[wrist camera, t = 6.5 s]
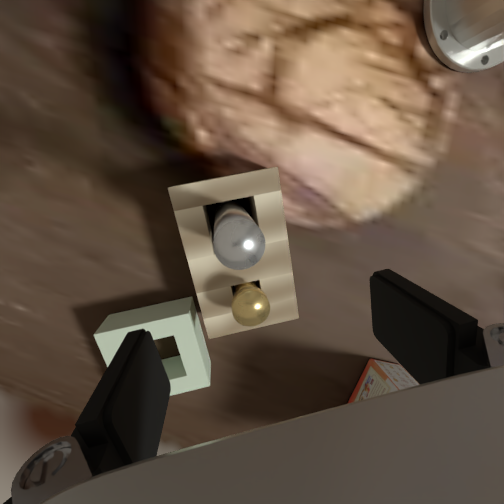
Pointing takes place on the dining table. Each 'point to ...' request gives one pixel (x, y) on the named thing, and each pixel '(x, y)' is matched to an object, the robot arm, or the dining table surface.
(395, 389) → the cracker box
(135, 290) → the dining table surface
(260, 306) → the brass knobbed peg
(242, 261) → the steel rod
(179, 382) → the block
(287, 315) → the socket block
